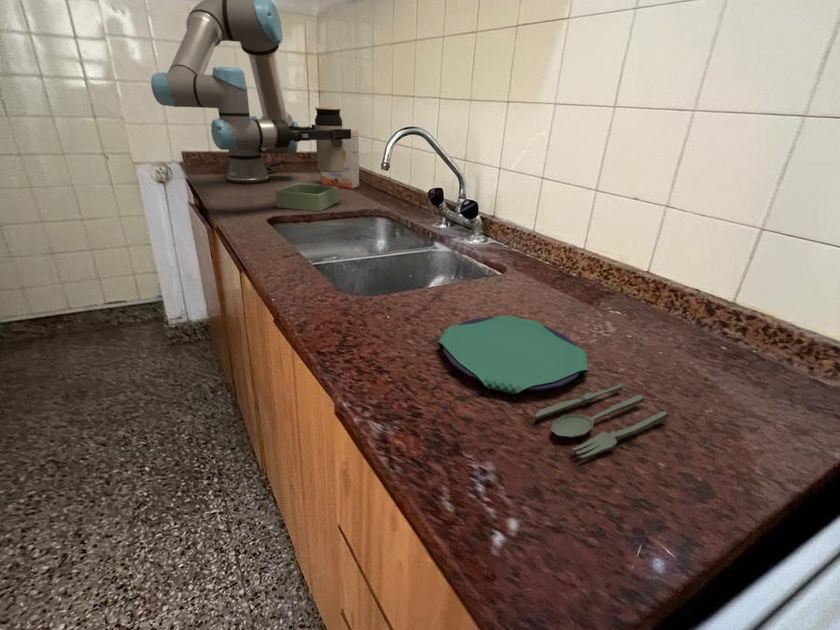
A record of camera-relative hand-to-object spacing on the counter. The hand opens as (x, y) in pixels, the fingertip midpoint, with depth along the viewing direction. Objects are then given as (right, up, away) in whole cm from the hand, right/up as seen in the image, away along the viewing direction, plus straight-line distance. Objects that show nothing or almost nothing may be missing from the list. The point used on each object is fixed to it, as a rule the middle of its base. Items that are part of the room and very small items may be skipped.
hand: (342, 132), depth 138 cm
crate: (-12, -20, +8) cm, 25 cm away
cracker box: (-7, -6, +37) cm, 39 cm away
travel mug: (-4, -11, +2) cm, 12 cm away
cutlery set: (+39, -65, -77) cm, 108 cm away
